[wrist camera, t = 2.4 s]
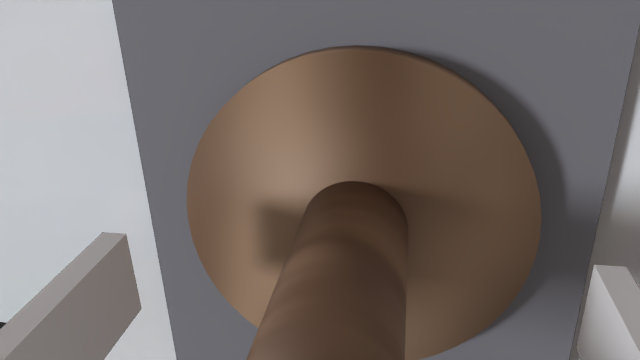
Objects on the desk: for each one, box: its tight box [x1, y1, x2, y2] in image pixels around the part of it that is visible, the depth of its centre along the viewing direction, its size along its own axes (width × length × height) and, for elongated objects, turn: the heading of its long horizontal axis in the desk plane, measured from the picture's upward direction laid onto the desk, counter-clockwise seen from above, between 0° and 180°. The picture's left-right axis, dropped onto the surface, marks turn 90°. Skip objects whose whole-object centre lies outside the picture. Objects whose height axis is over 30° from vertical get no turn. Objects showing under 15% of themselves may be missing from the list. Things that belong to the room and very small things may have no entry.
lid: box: [187, 45, 542, 360], centre depth 15 cm, size 12×12×9 cm
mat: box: [112, 0, 640, 360], centre depth 19 cm, size 16×16×1 cm
